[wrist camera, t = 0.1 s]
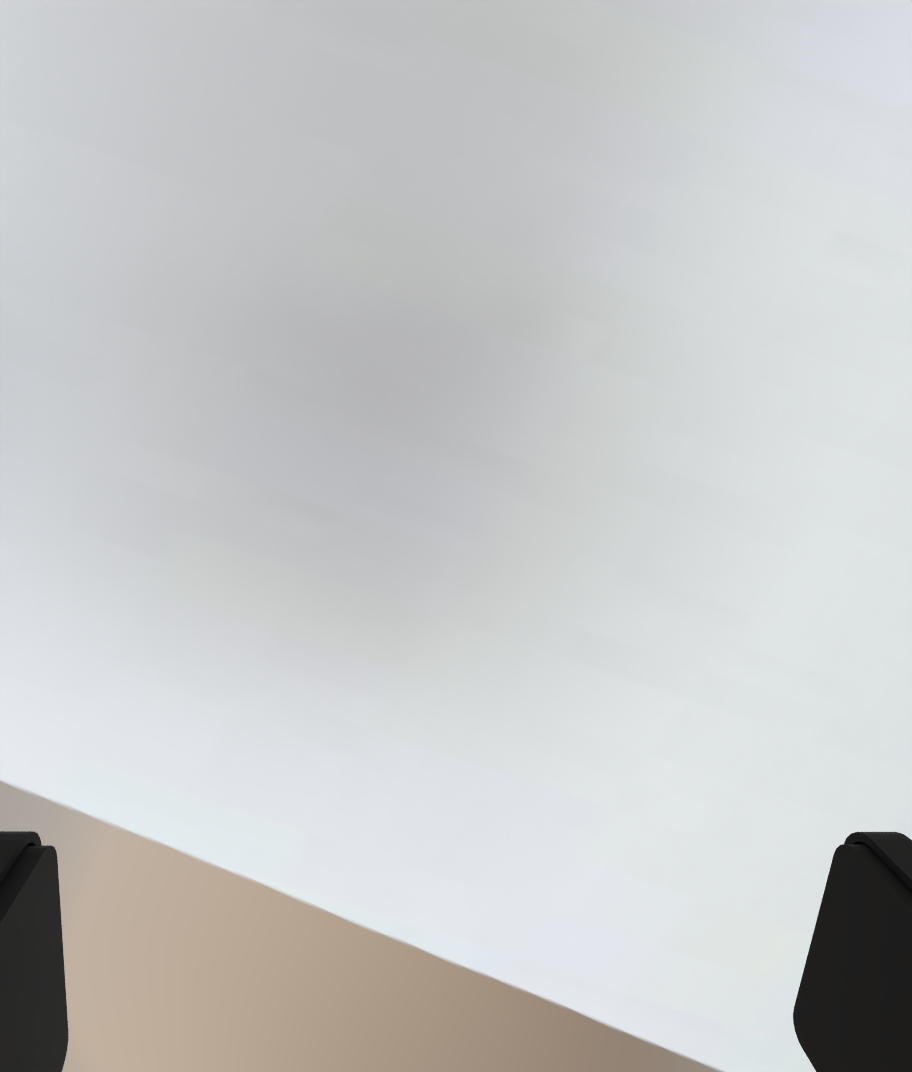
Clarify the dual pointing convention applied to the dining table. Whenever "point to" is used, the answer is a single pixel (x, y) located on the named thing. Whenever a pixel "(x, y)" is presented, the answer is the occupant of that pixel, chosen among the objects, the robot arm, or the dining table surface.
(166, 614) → the dining table surface
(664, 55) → the dining table surface
